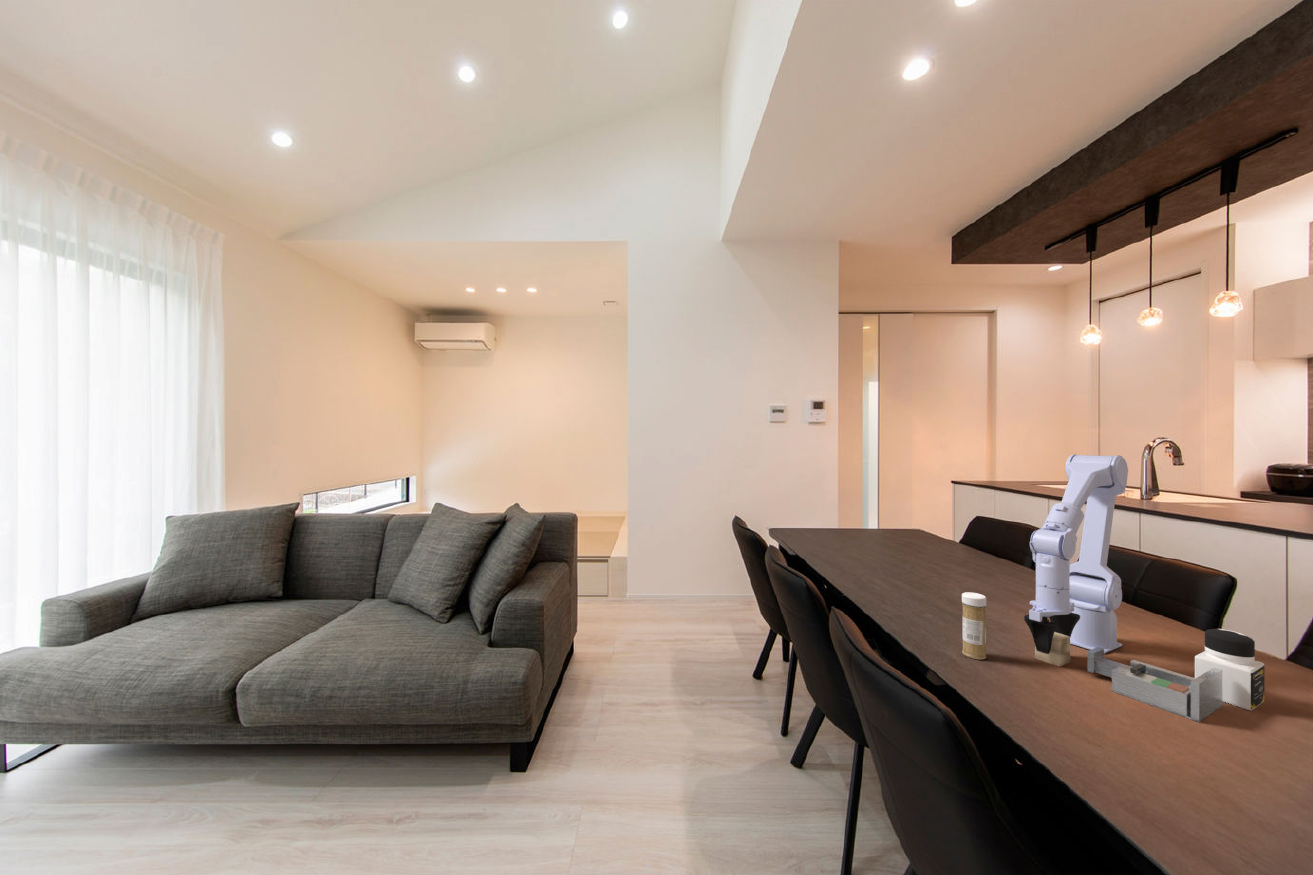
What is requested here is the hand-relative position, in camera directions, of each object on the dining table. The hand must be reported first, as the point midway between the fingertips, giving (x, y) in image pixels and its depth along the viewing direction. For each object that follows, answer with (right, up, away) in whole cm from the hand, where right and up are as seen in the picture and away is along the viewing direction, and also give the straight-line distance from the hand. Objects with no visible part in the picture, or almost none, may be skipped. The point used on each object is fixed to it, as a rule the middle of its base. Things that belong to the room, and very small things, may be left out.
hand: (1052, 648), depth 106 cm
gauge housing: (+8, -2, -16) cm, 18 cm away
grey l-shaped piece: (+4, -1, -11) cm, 11 cm away
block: (0, -3, 0) cm, 3 cm away
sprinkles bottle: (-16, -3, +2) cm, 16 cm away
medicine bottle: (+20, -3, -15) cm, 26 cm away
